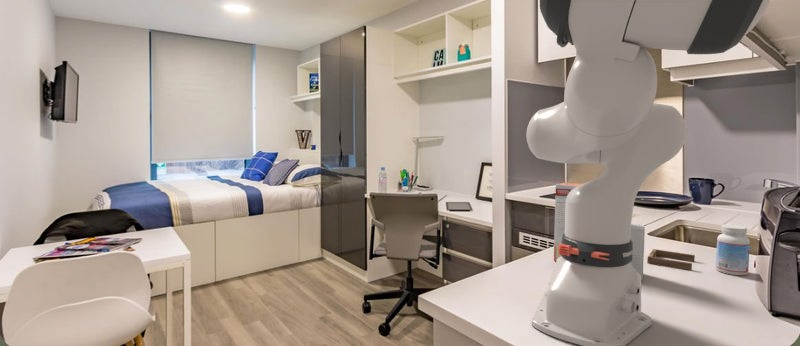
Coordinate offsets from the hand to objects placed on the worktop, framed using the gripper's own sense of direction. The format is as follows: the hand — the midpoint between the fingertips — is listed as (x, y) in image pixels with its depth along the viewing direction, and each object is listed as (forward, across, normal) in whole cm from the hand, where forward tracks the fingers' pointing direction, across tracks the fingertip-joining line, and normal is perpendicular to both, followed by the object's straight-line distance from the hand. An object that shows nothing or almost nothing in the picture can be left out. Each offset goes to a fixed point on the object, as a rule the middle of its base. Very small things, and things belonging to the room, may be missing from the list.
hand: (651, 37), depth 84 cm
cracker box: (+54, -3, -15) cm, 56 cm away
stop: (+55, +20, -8) cm, 59 cm away
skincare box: (+50, +6, -20) cm, 55 cm away
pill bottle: (+51, +30, -12) cm, 61 cm away
